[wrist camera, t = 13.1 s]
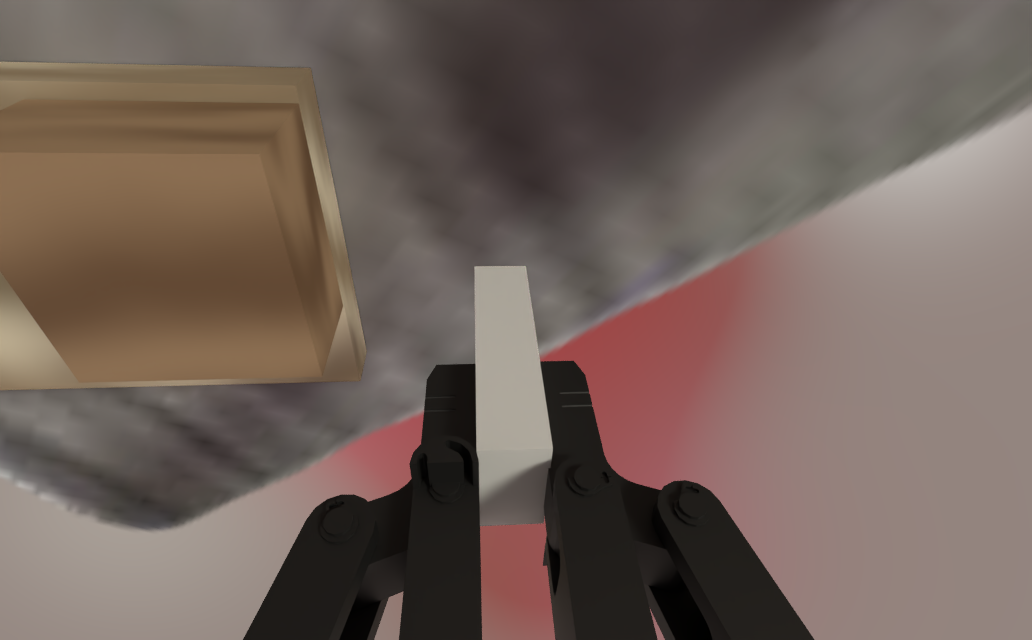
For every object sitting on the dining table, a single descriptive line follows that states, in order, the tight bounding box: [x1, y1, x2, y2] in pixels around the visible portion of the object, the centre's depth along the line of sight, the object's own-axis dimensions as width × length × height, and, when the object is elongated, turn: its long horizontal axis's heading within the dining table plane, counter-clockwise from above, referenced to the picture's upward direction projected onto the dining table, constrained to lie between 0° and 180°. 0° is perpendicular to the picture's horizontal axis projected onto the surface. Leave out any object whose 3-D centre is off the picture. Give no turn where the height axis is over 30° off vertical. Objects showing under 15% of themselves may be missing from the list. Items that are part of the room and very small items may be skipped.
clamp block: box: [0, 99, 343, 383], centre depth 17 cm, size 8×8×4 cm
